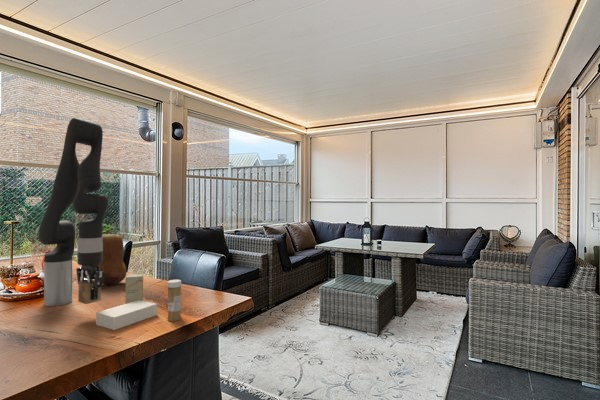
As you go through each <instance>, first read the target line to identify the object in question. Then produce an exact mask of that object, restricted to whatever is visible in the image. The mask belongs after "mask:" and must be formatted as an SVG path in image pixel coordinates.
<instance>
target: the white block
mask: <svg viewBox="0 0 600 400" xmlns="http://www.w3.org/2000/svg"><path fill="white" fill-rule="evenodd" d="M156 316H158V303H154V302H151V301H145V300H143V301H142V300H138V301H134V302H131V303H127V304H125V303H123V304H121V305H118V306H113V307H110V308H107V309H104V310H103V309H102V310H100V311H96V312H95V325H97V326H99V327H102V328H106V329H110V330H113V331H115V330H119V329H121V328H124V327H127V326H130V325H133V324H135V323H139V322H141V321H144V320H147V319H149V318H152V317H156Z"/></svg>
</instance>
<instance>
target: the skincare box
mask: <svg viewBox="0 0 600 400" xmlns="http://www.w3.org/2000/svg"><path fill="white" fill-rule="evenodd" d="M124 299H125V301H124V304H127V303H131V302H134V301H138V300H142V301H144V274H143V273H141V274H129V275H127V274H126V277H125V296H124Z"/></svg>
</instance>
